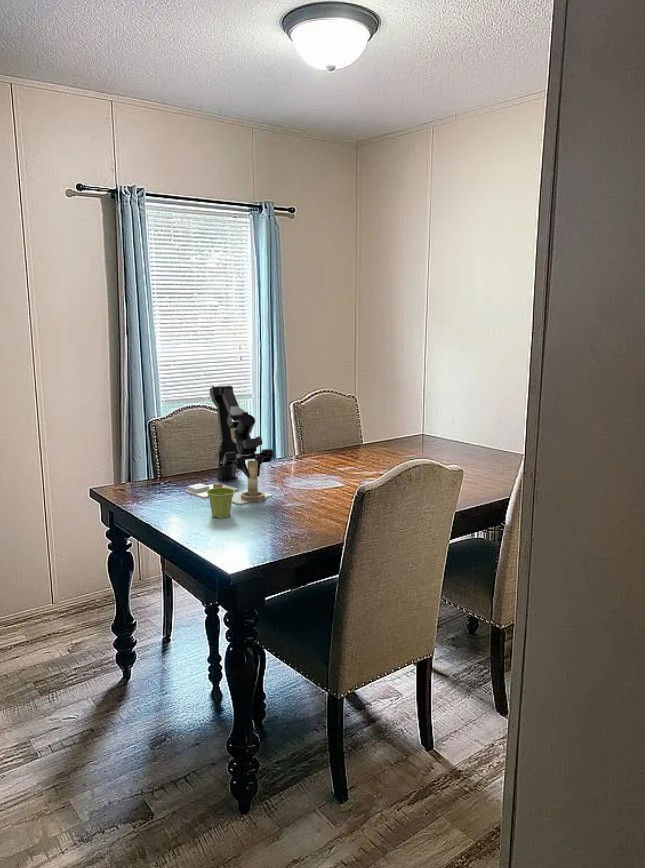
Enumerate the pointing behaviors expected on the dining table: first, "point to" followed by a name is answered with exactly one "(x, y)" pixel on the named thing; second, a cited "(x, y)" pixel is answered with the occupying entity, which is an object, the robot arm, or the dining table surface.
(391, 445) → the dining table surface
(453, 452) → the dining table surface
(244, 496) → the board
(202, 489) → the tile
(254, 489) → the dowel
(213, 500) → the plant pot
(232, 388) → the robot arm
